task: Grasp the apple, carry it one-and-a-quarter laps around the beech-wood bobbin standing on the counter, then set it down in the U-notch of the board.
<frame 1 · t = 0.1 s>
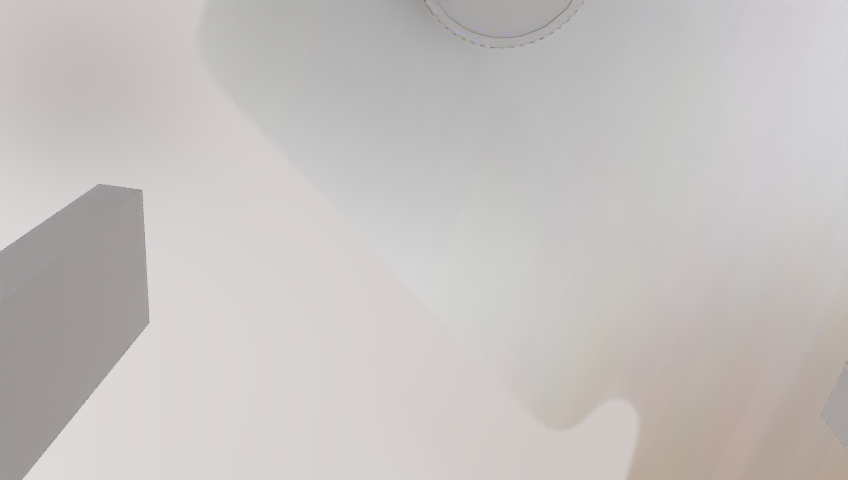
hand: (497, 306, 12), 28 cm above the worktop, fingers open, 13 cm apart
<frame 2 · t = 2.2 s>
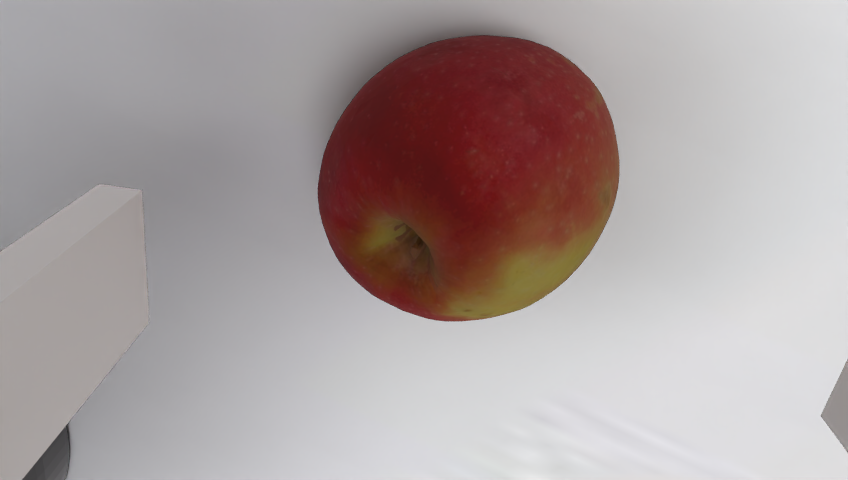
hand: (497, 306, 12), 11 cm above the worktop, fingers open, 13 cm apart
apple: (466, 136, 22), on the worktop
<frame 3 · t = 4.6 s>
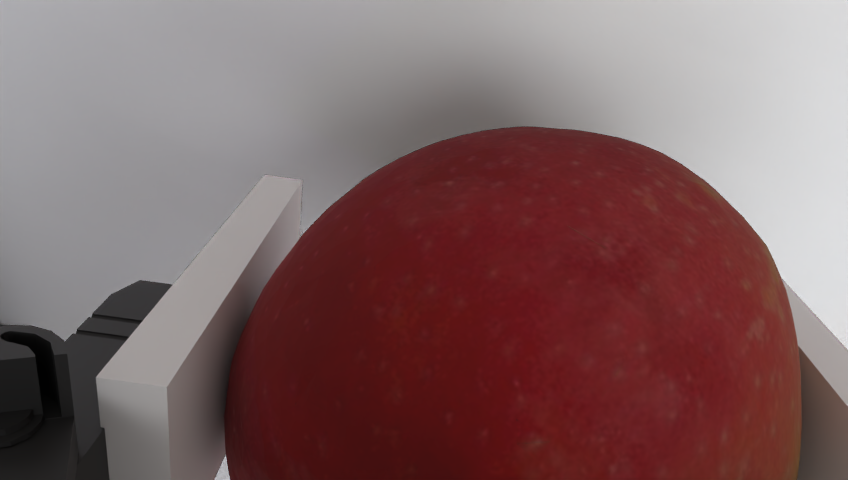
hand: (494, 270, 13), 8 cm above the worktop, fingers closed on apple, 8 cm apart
apple: (494, 259, 14), point 7 cm above the worktop, touching gripper
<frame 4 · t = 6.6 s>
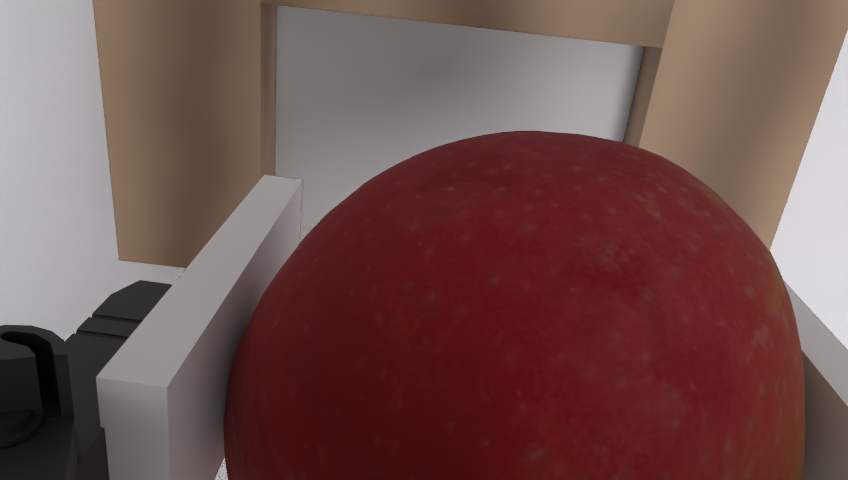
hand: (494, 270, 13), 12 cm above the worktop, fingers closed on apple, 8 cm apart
apple: (495, 263, 14), point 12 cm above the worktop, touching gripper
notched board: (449, 117, 25), on the worktop
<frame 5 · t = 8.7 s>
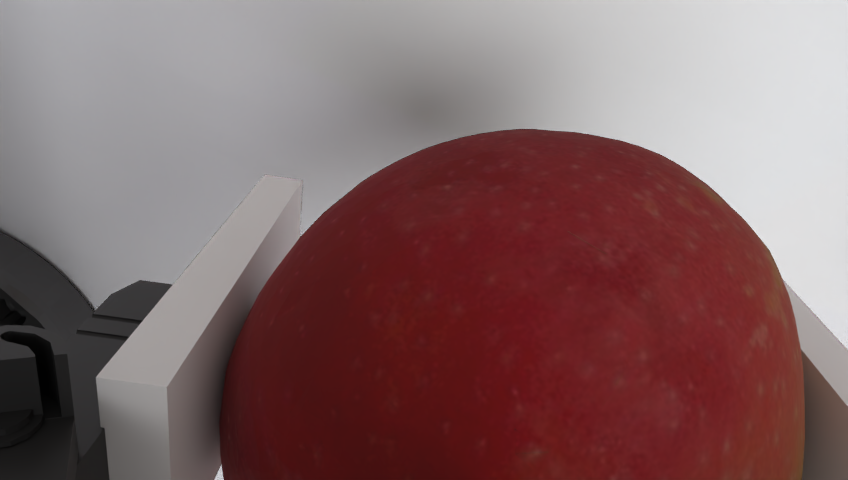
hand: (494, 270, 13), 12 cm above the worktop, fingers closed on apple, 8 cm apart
apple: (493, 262, 14), point 12 cm above the worktop, touching gripper
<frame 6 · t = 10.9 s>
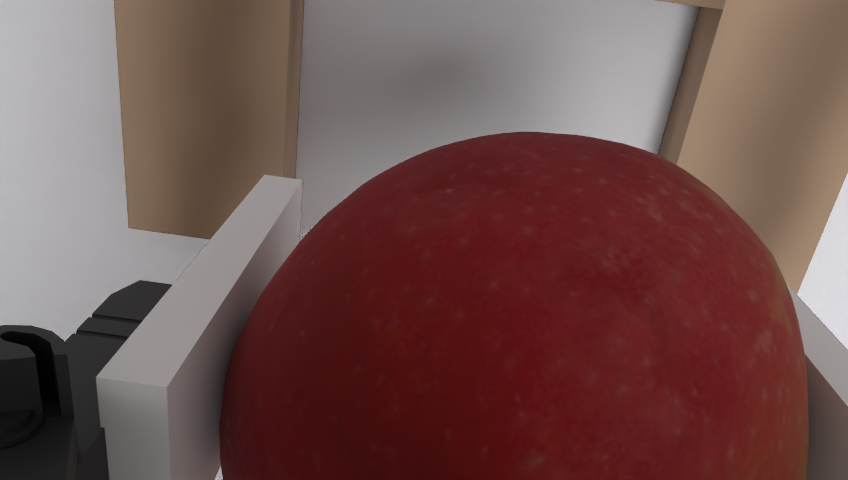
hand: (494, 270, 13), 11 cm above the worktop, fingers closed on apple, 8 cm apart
apple: (494, 265, 14), point 11 cm above the worktop, touching gripper
notched board: (486, 82, 23), on the worktop
when the fingers open (2 cm above the worktop, at t = 12.9 s): apple drops 2 cm, on the worktop.
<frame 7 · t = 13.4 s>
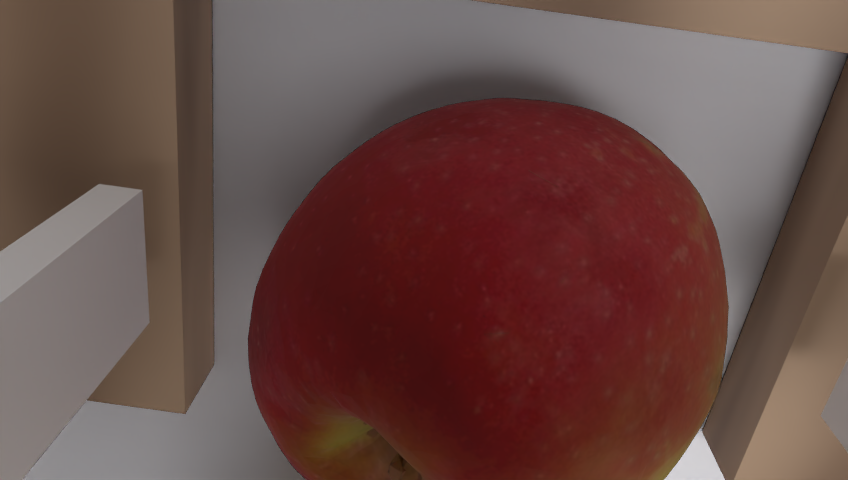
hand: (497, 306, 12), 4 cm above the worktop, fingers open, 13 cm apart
apple: (481, 223, 16), on the worktop
notched board: (501, 164, 15), on the worktop
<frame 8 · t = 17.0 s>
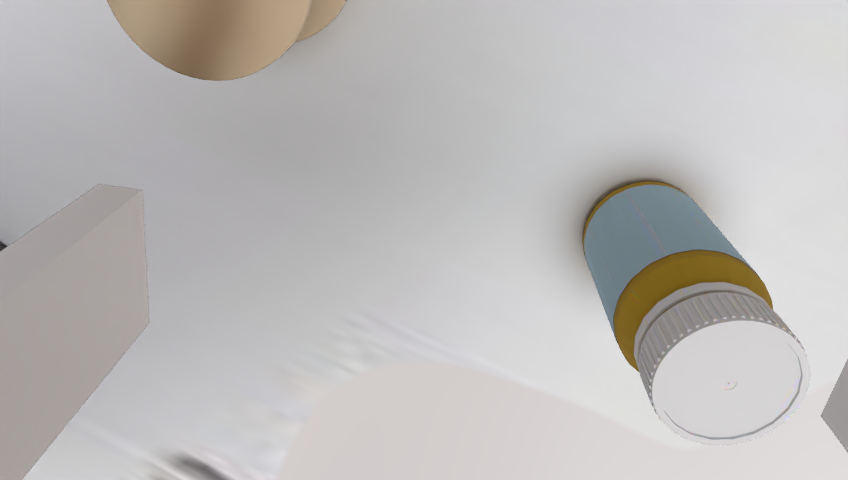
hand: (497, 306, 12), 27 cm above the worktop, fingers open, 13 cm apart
bottle: (638, 231, 40), on the worktop
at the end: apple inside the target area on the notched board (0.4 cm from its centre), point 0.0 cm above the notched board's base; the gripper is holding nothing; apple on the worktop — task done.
